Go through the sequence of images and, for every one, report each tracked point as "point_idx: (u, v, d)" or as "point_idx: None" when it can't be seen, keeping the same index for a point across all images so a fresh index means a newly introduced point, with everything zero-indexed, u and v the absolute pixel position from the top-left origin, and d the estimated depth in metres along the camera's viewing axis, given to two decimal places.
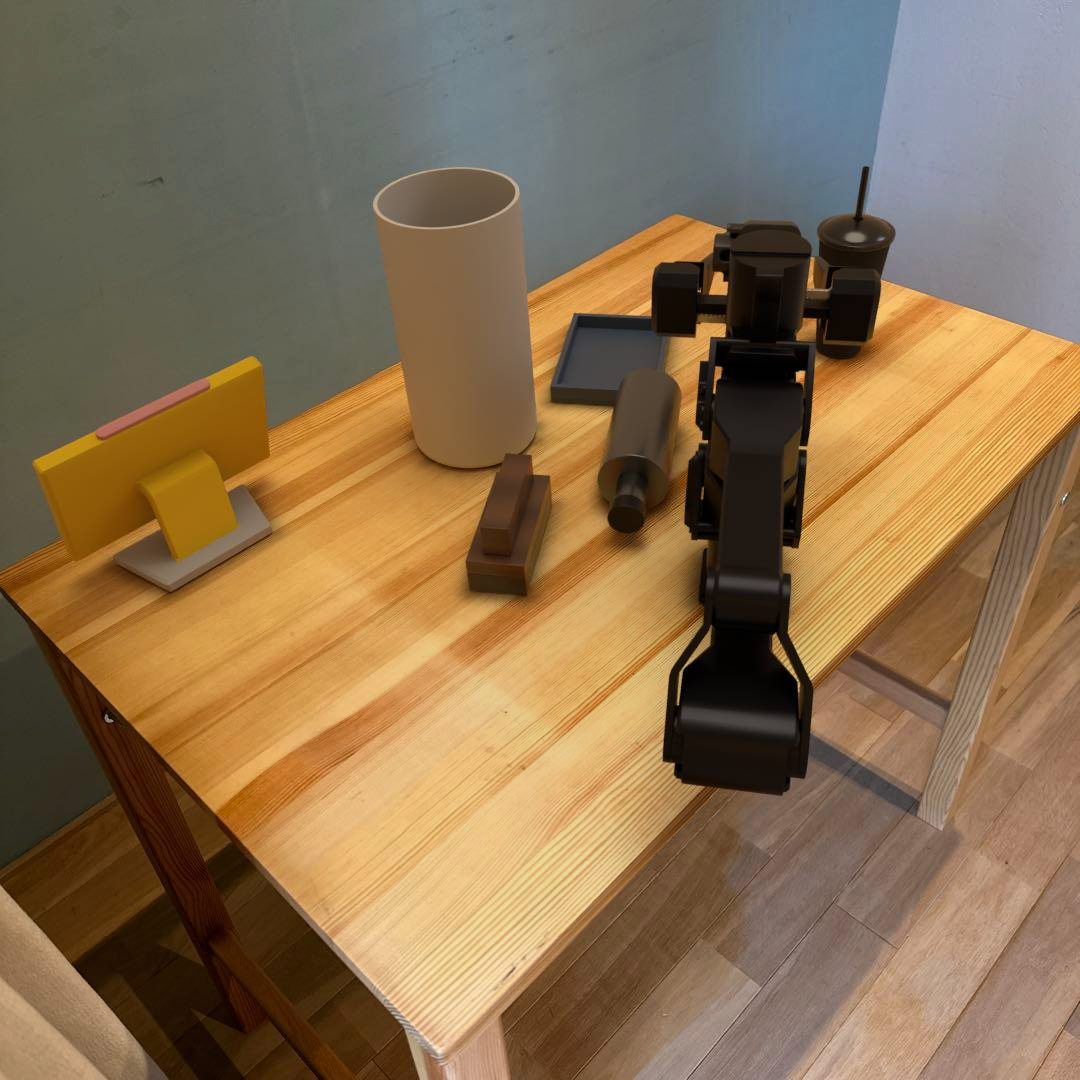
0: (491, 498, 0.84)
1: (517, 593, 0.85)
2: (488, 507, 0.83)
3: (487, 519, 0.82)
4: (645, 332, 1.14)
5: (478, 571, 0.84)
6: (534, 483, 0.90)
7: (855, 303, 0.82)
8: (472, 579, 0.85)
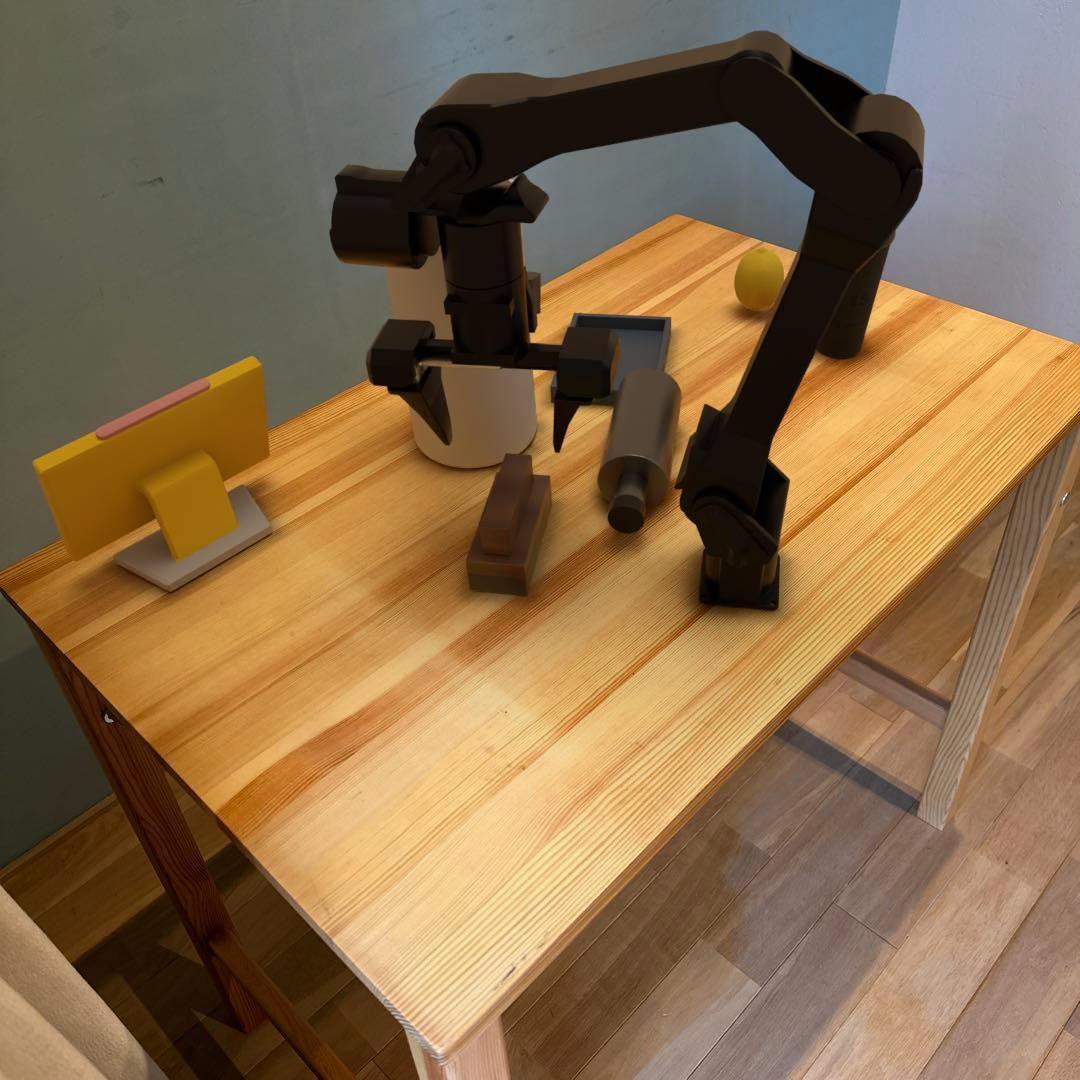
0: (491, 498, 0.84)
1: (517, 593, 0.85)
2: (488, 507, 0.83)
3: (487, 519, 0.82)
4: (645, 332, 1.14)
5: (478, 571, 0.84)
6: (534, 483, 0.90)
7: (592, 333, 0.75)
8: (472, 579, 0.85)
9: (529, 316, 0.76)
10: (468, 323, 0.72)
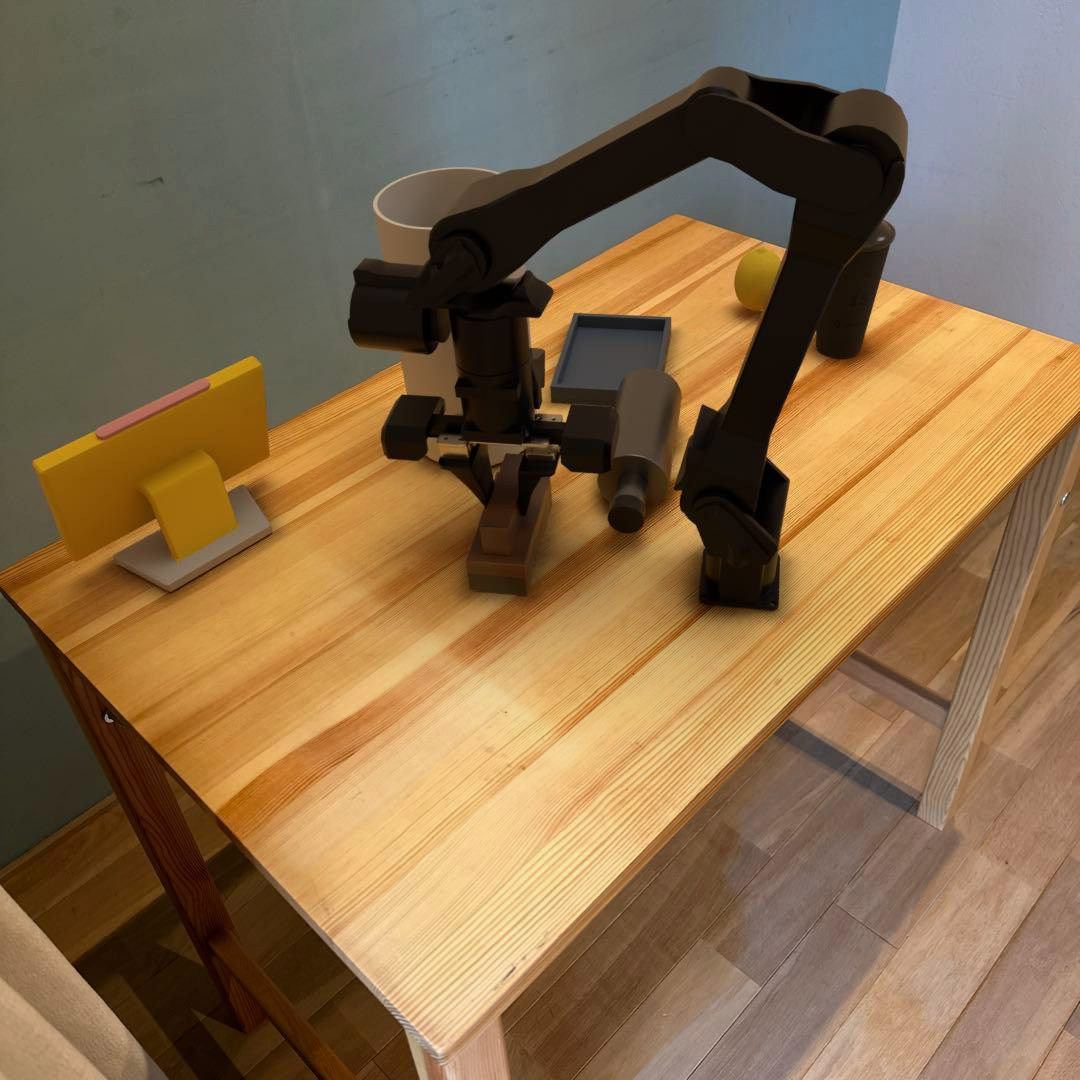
0: (491, 498, 0.84)
1: (517, 593, 0.85)
2: (488, 507, 0.83)
3: (487, 519, 0.82)
4: (645, 332, 1.14)
5: (478, 571, 0.84)
6: None
7: (593, 411, 0.80)
8: (472, 579, 0.85)
9: (534, 394, 0.81)
10: (477, 405, 0.76)
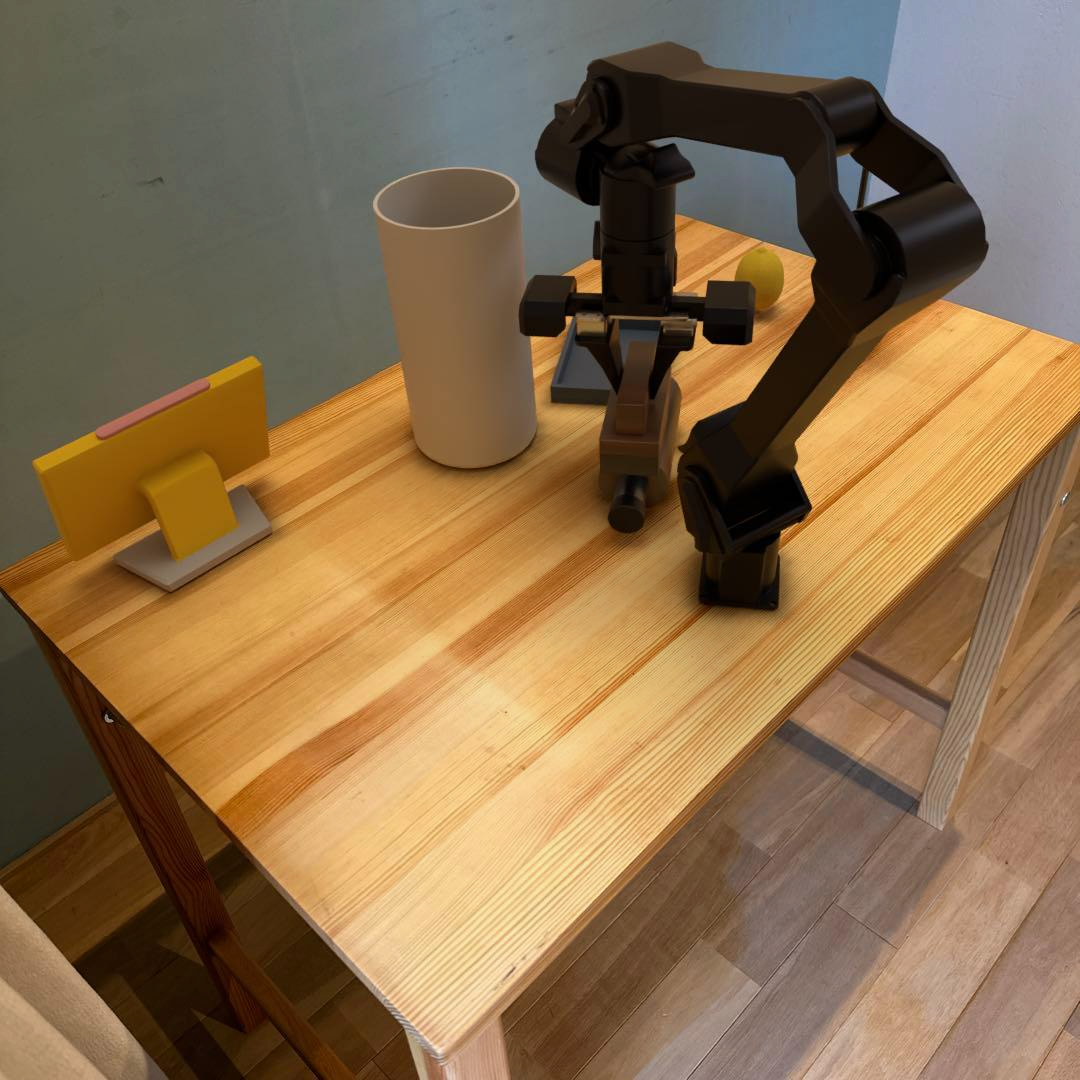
0: (623, 379, 0.85)
1: (648, 474, 0.85)
2: (621, 387, 0.84)
3: (622, 397, 0.83)
4: (645, 332, 1.14)
5: (611, 451, 0.84)
6: None
7: (731, 285, 0.80)
8: (604, 460, 0.85)
9: None
10: (623, 274, 0.77)
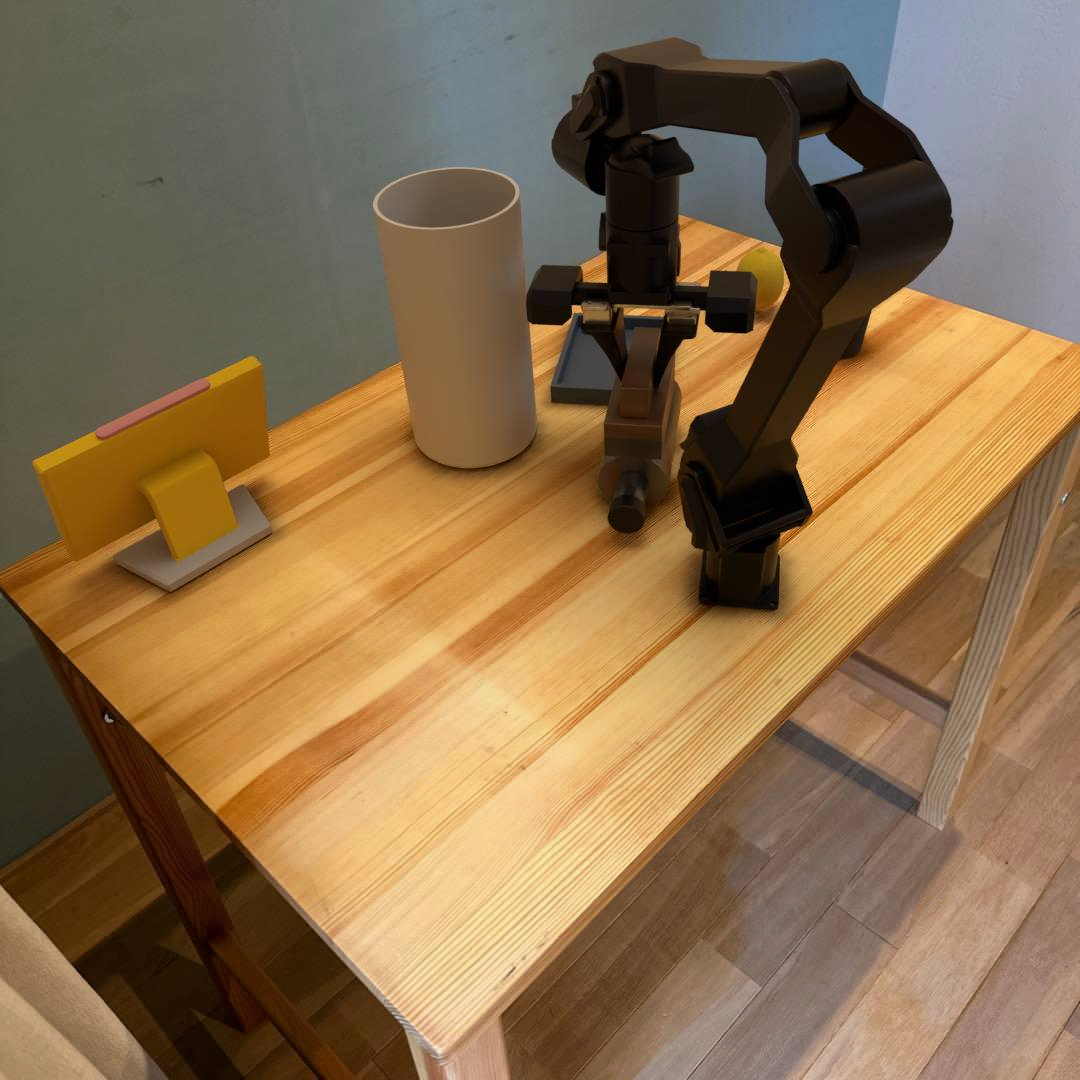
0: (627, 364, 0.87)
1: (652, 457, 0.87)
2: (625, 371, 0.86)
3: (626, 381, 0.85)
4: None
5: (615, 434, 0.86)
6: None
7: (734, 275, 0.82)
8: (608, 443, 0.87)
9: None
10: (627, 263, 0.79)
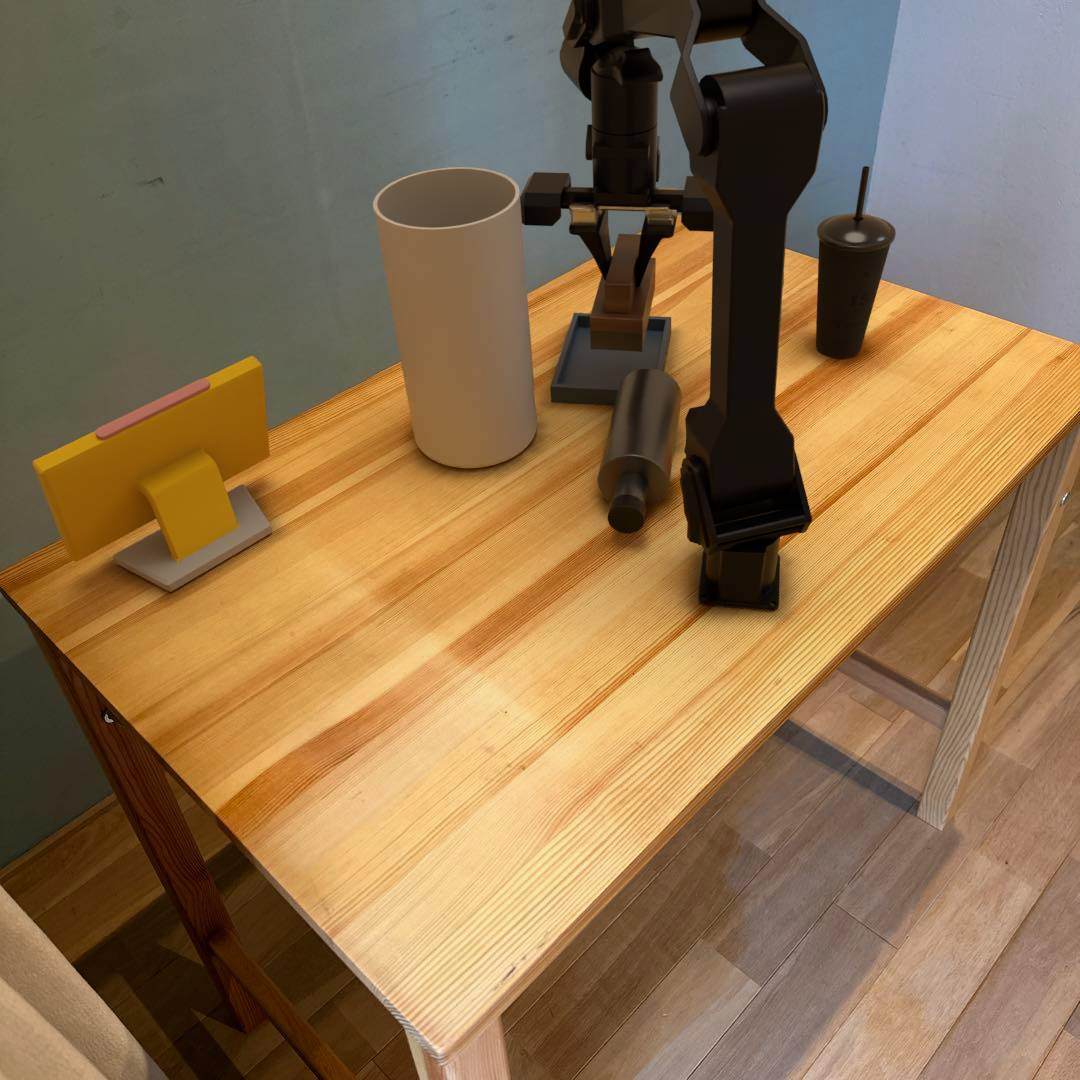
0: (611, 264, 0.95)
1: (633, 349, 0.96)
2: (610, 270, 0.94)
3: (610, 278, 0.93)
4: None
5: (600, 328, 0.95)
6: None
7: None
8: (594, 337, 0.96)
9: None
10: (611, 166, 0.87)
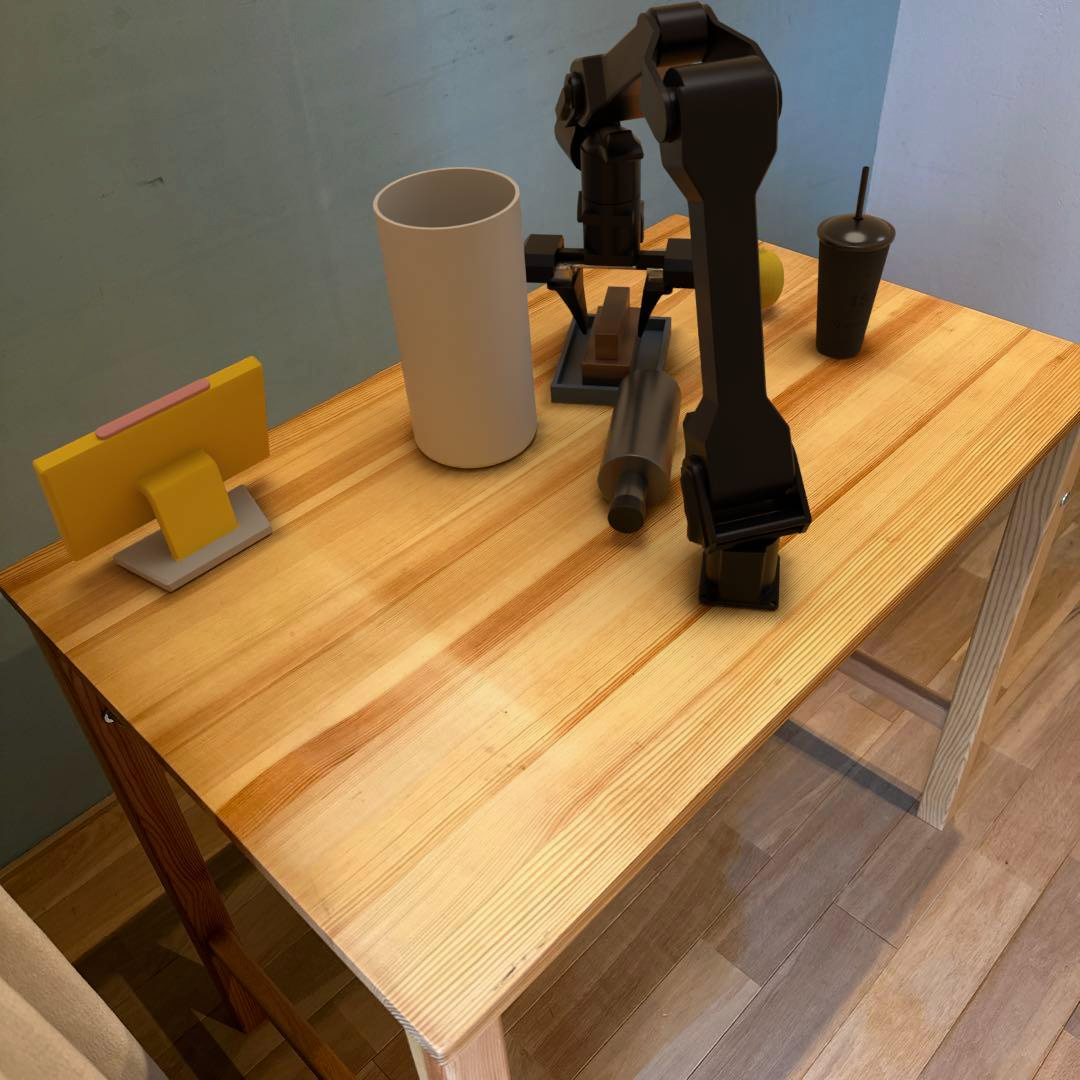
0: (601, 315, 1.05)
1: None
2: (599, 321, 1.04)
3: (600, 328, 1.03)
4: (645, 332, 1.14)
5: (591, 373, 1.04)
6: (630, 312, 1.11)
7: (687, 242, 1.00)
8: (585, 381, 1.05)
9: None
10: (599, 231, 0.97)
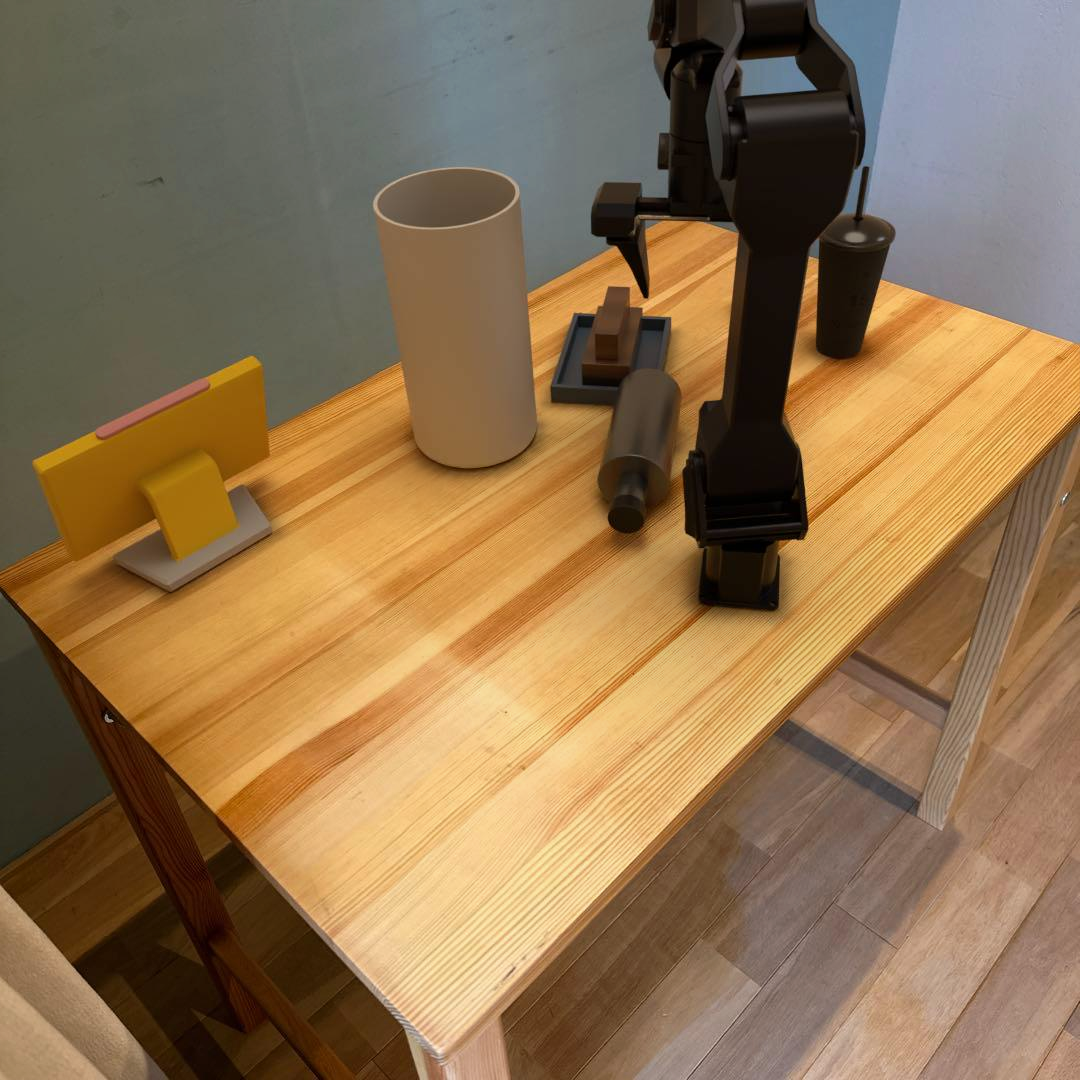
0: (601, 315, 1.05)
1: None
2: (599, 321, 1.04)
3: (600, 328, 1.03)
4: (645, 332, 1.14)
5: (591, 373, 1.04)
6: (630, 312, 1.11)
7: None
8: (585, 381, 1.05)
9: None
10: (690, 174, 0.84)
